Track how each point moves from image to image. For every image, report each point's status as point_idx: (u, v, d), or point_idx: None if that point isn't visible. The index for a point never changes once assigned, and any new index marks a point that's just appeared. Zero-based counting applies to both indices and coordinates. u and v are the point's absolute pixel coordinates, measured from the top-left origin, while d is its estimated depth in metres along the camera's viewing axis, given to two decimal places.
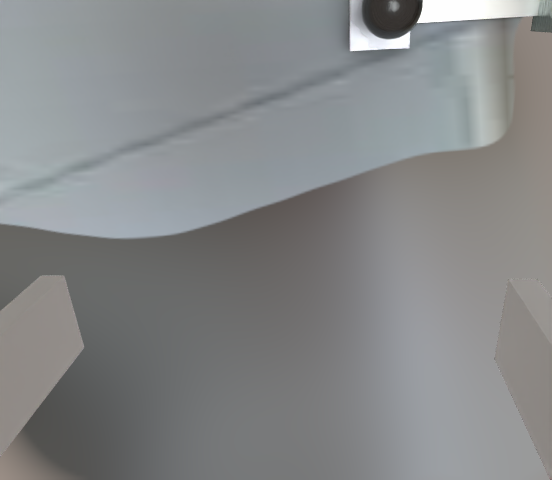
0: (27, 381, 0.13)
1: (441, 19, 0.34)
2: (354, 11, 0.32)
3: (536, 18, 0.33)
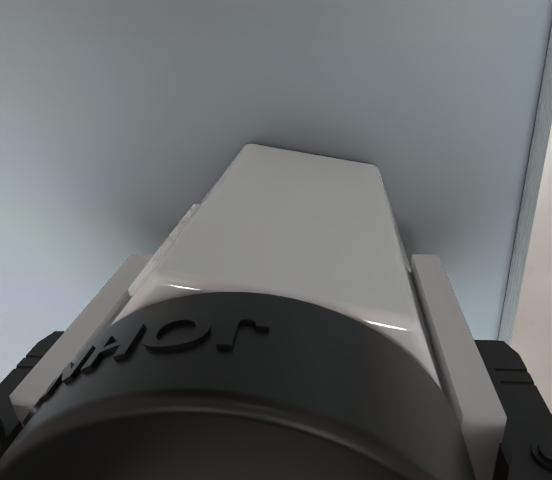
0: None
1: None
2: None
3: None
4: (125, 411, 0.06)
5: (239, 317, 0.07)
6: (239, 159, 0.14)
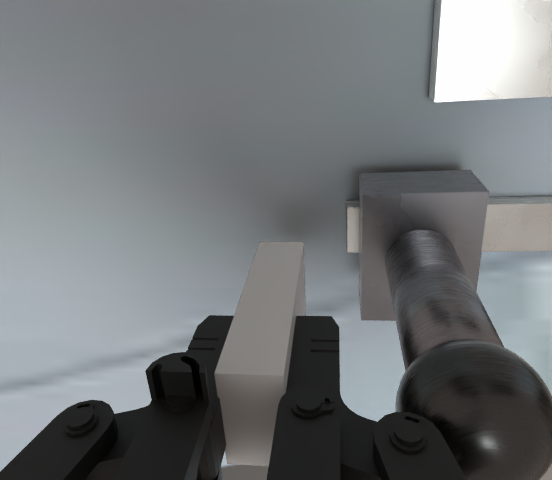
0: None
1: (513, 248, 0.19)
2: (370, 261, 0.17)
3: None
4: None
5: None
6: None
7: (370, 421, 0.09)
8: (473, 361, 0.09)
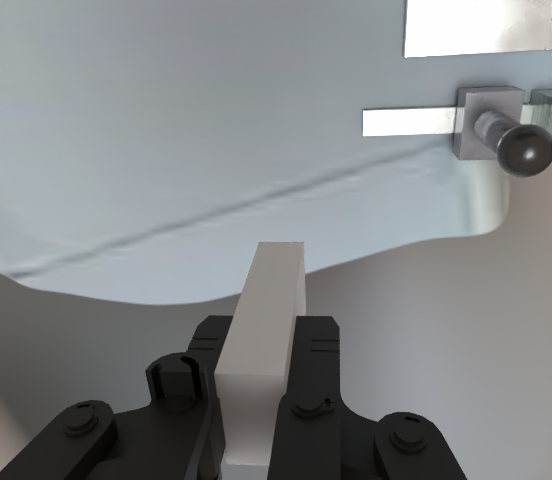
0: None
1: (444, 131, 0.38)
2: (467, 127, 0.35)
3: None
4: None
5: None
6: None
7: (370, 421, 0.09)
8: (527, 125, 0.28)
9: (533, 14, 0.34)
